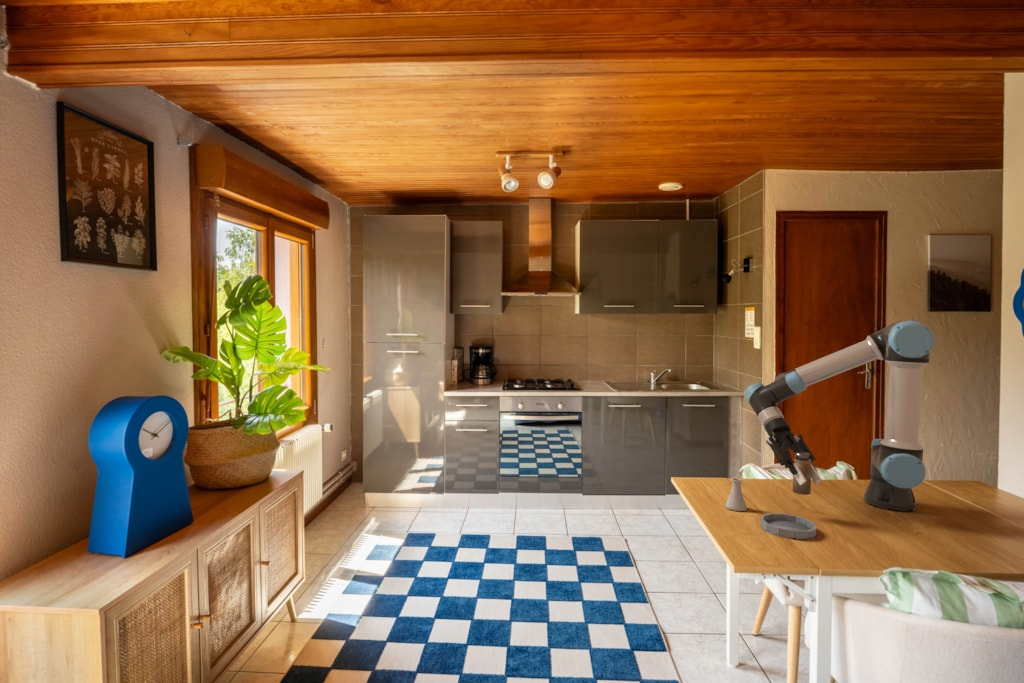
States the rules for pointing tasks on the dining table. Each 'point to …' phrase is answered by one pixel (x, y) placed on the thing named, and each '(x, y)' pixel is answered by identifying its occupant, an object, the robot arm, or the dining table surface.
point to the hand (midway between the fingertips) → (810, 482)
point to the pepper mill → (805, 468)
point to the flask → (736, 497)
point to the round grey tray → (788, 526)
